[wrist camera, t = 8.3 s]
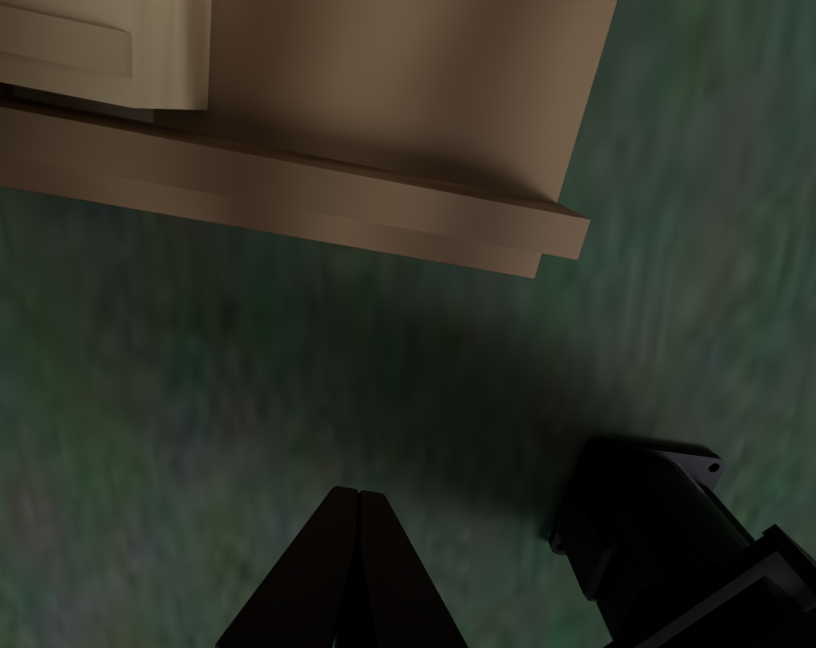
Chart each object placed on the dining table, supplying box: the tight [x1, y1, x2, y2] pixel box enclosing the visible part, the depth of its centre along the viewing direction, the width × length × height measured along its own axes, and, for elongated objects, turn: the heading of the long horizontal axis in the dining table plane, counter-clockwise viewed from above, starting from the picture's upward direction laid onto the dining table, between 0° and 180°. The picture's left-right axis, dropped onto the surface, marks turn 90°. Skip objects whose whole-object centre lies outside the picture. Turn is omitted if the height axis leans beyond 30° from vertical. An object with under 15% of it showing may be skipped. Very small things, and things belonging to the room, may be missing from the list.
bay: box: [0, 0, 617, 278], centre depth 14 cm, size 19×13×4 cm
